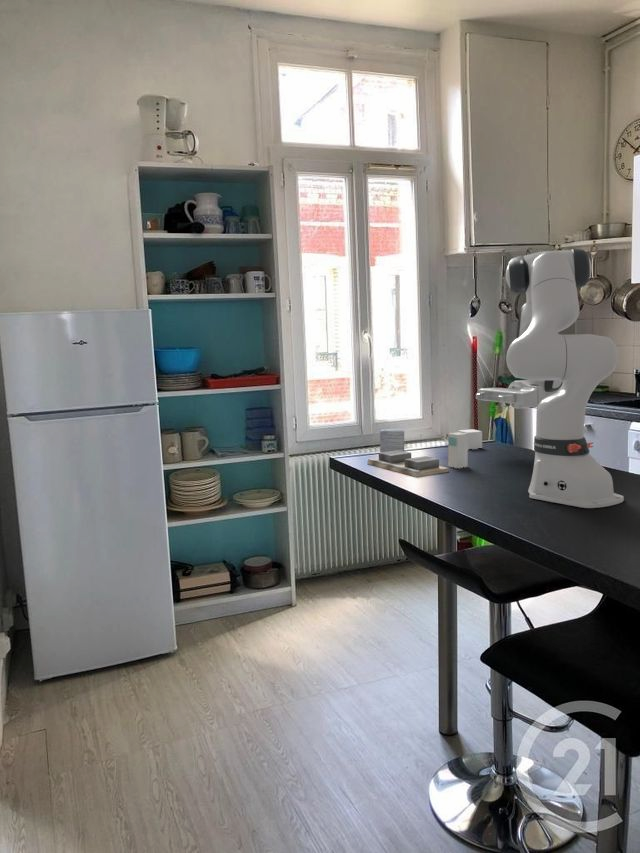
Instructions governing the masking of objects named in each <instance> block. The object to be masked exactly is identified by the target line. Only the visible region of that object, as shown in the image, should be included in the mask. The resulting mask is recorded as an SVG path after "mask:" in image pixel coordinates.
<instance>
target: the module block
mask: <svg viewBox="0 0 640 853" xmlns="http://www.w3.org/2000/svg"><path fill="white" fill-rule="evenodd" d="M447 440H448V441H447V442H448V444H447V445H448V447H447V450H448V452H447V453H448V454H447V455H448V458H447V460H448V463H447V464H448V465H447V467H448V468H453V467H454V468H453V469H457V468H458V469H464V468H468V467H469V466H468V465H469V464H468V462H469V461H468V456H469V455H468V454H469V452H468V451H469V450H468V434H466V433H460V432H458V431H456V432H450V433H449V432H448V438H447ZM463 467H464V468H463Z"/></svg>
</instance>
